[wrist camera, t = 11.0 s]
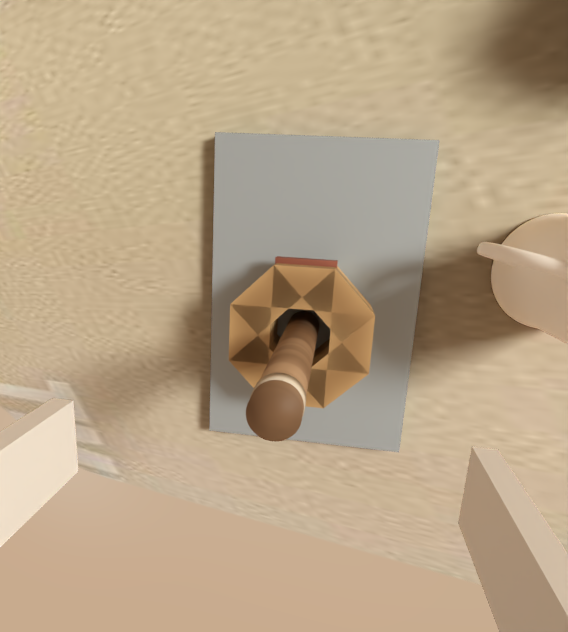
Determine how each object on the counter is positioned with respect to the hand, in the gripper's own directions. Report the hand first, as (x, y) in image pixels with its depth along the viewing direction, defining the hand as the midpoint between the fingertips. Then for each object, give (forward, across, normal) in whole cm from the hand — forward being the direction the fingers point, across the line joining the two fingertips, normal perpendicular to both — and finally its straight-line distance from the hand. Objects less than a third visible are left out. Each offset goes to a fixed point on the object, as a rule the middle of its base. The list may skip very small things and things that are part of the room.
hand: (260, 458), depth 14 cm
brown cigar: (+20, 0, -1) cm, 20 cm away
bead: (+20, 0, -1) cm, 20 cm away
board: (+21, 0, +1) cm, 21 cm away
